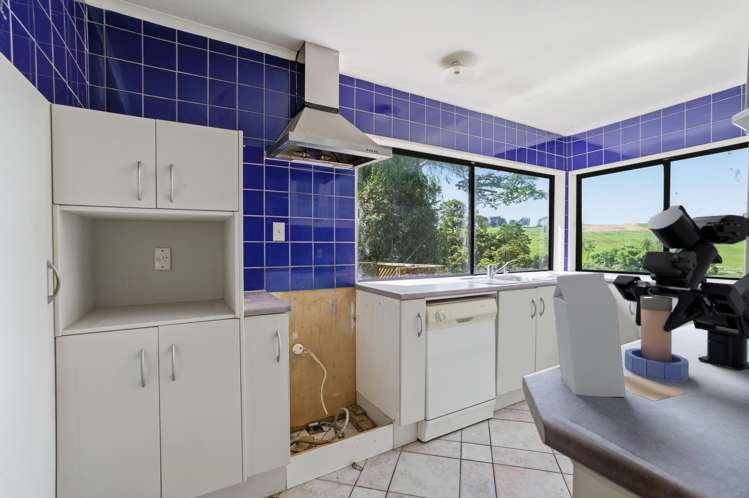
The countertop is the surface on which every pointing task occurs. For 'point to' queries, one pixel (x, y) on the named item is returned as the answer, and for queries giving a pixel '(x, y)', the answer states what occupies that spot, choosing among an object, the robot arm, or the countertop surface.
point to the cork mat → (649, 388)
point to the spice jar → (655, 328)
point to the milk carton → (588, 336)
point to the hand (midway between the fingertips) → (650, 327)
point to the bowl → (657, 367)
